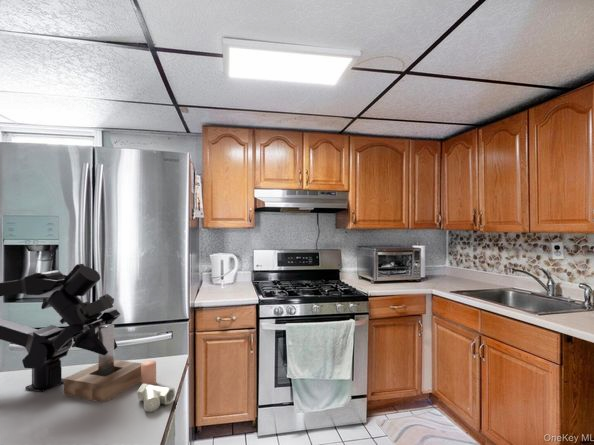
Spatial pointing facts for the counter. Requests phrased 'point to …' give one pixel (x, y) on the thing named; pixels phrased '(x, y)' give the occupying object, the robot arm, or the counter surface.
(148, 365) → the short terracotta pin
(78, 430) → the counter surface
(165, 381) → the counter surface
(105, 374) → the tall metal pin
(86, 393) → the walnut block
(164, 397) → the pipe fitting
